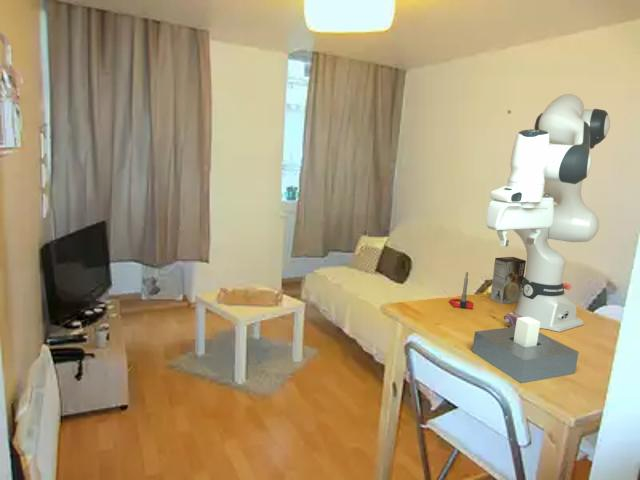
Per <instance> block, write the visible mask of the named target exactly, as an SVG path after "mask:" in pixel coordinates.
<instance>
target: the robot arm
mask: <svg viewBox="0 0 640 480" xmlns="http://www.w3.org/2000/svg"><path fill="white" fill-rule="evenodd" d="M584 107H585V106H584V103H583V100H582V99H581V98H580V97H579V96H578V95H575V94H572V93H565V94H562V95H559V96H558V97H556V98H555V99H554V100H552V101H551V102H550V103H549V104H548V105H547V106H546V108H545V109H544V110H543V112H541V113H540V114H539V115H538V116H537V117H536V120H535V122H534V127H533V129H532V128H531V129H523V130H520V131H518V132H517V134H516V137H515V140H514V143H513V146H512V147H513V148H512V152H511V155H510V156H511V157H510V163H509V164H510V165H509V166H510V175H509V176H508V178H507V179H508V180H507V184H505V185H503V186H501V187H498V188H497V189H496V188H495V189H494V190H492V191H491V192H490V194H489V195H490V199H492V200H491V201H490V203H489V204H488V207H487V212H486V219H485V224H486V227H487V228H488V229H489V230H490V229H491V230H493V231H496V234H497V236H498V239H499V243H498V245H499V246H500V247H508V246H509V243H510V240H509V239H507V236H506V235H507V234H508V231H511V230H512V231H513V232H515V234H517V236H518V237H519V238H520V239H521V241H522V243H523V245H524V247H525V251H526V264H525V273H524V278H523V282H522V283H523V284H522V291H521V294H520V297H519V301H518V302H517V305H516V307H515V308H514V310H513V312H514V314H519V315H521V316H523V317H530V318H533V319H535V320H537V321H539V322H540V328H539V329H545V330H550V331H555V332H564V331H567V330H570V329H574V328H576V327H577V328H578V327H580V326H582V325H584V321H583V319H581V318H580V317H578V316H577V313H578V310H577V306H576V304H575V303H574V302H573V301H572V300H571V299H570V298H569V297H568V296H567V295H566V293H565V290H567V291H570V290H571V288H572V285H571V283H568V282H564V283H563V278H564V271H565V268H566V267H565V265H566V261H565V258H564V256H563V255H562V254H561V253H560V252H558V251H557V250H555V249H554V248H552V247H551V246H550V245H549V243H548V240H554V241H555V240H556V241H560V242H568V243H587V242H588V243H589V242H590V241H591V240H593V239H594V238H595V236H597V234H598V231H599V228H600V221H599V218H598V216H597V214H596V213H595V212H594V210H591V209H590V208H589V207H588V206H587V204H585V202H584V201H583V197H582V186H583V180H585V179H587V178H588V175H589V174H590V171H591V167H592V156H591V152H590V151H591V150H592V149H594V148H595V146H597V145H598V144H600V143H602V141H603V140H604V139H606V137H607V135H608V132H609V131H610V128H611V120H610V117H609V114H608V112H607V111H606V110H604V109H599V108H594V109H591V108H589V109H588V108H584ZM554 203H556V204H554Z"/></svg>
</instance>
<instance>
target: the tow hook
mask: <svg viewBox="0 0 640 480" xmlns="http://www.w3.org/2000/svg"><path fill="white" fill-rule="evenodd" d="M468 276H469V272H467V271H466V272H465V276H464V279H463V281H464V282H463V286H462V287H463V288H462V293H461V298H450V299H449V300H448V301H449V302H448V303H449V304H450V305H452V307H453V308H459V309H463V310H464V309H467V310H473V309H474V302H472V301H471V300H469V299H468V300H467V290H468V283H469V278H468ZM458 302H459V303H458Z"/></svg>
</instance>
